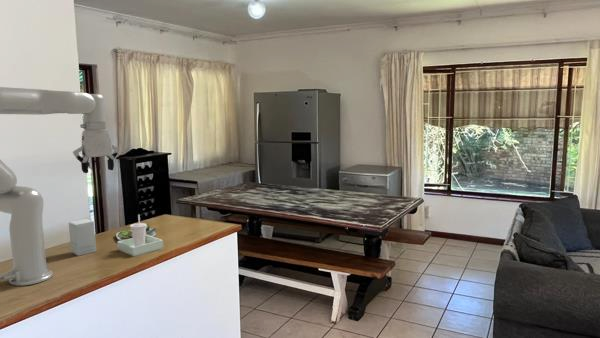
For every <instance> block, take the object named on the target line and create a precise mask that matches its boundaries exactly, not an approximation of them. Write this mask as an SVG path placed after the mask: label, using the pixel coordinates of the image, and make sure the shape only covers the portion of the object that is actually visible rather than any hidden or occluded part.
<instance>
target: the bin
mask: <svg viewBox="0 0 600 338" xmlns="http://www.w3.org/2000/svg"><path fill="white" fill-rule="evenodd" d="M116 244H117V251H119V252H122V253H124V254H127V255H129V256H131V257H137V256H141V255H145V254H149V253H152V252H155V251H159V250H163V249H164V240H163V239H161V238H158V237H156V236H154V237H152V236H149V235H145V244H144V245H140V246H136V247H135V246H134V241H133V238H125V239H123V240H122V241H119V240H117V241H116Z"/></svg>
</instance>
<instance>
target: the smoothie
mask: <svg viewBox="0 0 600 338" xmlns="http://www.w3.org/2000/svg"><path fill="white" fill-rule="evenodd" d="M140 216H141V215H140V214H137V219H138V222H137V223H133V224H130V225H129V229H130V230H131V231H132V236H133V241H134V246H135V247H136V246H140V245H144V244H145V233H146V227H147V226H146V224H147V223H146V224H145V222H141V217H140Z"/></svg>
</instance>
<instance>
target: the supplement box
mask: <svg viewBox="0 0 600 338" xmlns="http://www.w3.org/2000/svg"><path fill="white" fill-rule="evenodd" d="M68 231H69V232H68V233H69V240H70V241H69V242H70V252H71V253H72V254H73V255H76V256H79V257H80V256H82V255H87V254H91V253H95V252H97V245H96V234H95V233H96V232H95V231H96V230H95V221H94V220H91V219H89V218H83V219H78V220H73V221H69V222H68Z"/></svg>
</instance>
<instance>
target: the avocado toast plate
mask: <svg viewBox="0 0 600 338" xmlns="http://www.w3.org/2000/svg"><path fill="white" fill-rule="evenodd" d="M144 223H145V222H144ZM145 224H146V226H147V227H146V233H145V235H149V236H152V237H156V235H157V234H156V233H157V232H155V231H156V230H157V228H156V227H153V228H150V225H149V223H145ZM115 238H116V240H117V241H122V240H124V239H130V238H133V236H132V231H131V229H130V230H129V229H128V230H127V229H124V230H121V231H118V232H116V234H115Z"/></svg>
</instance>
